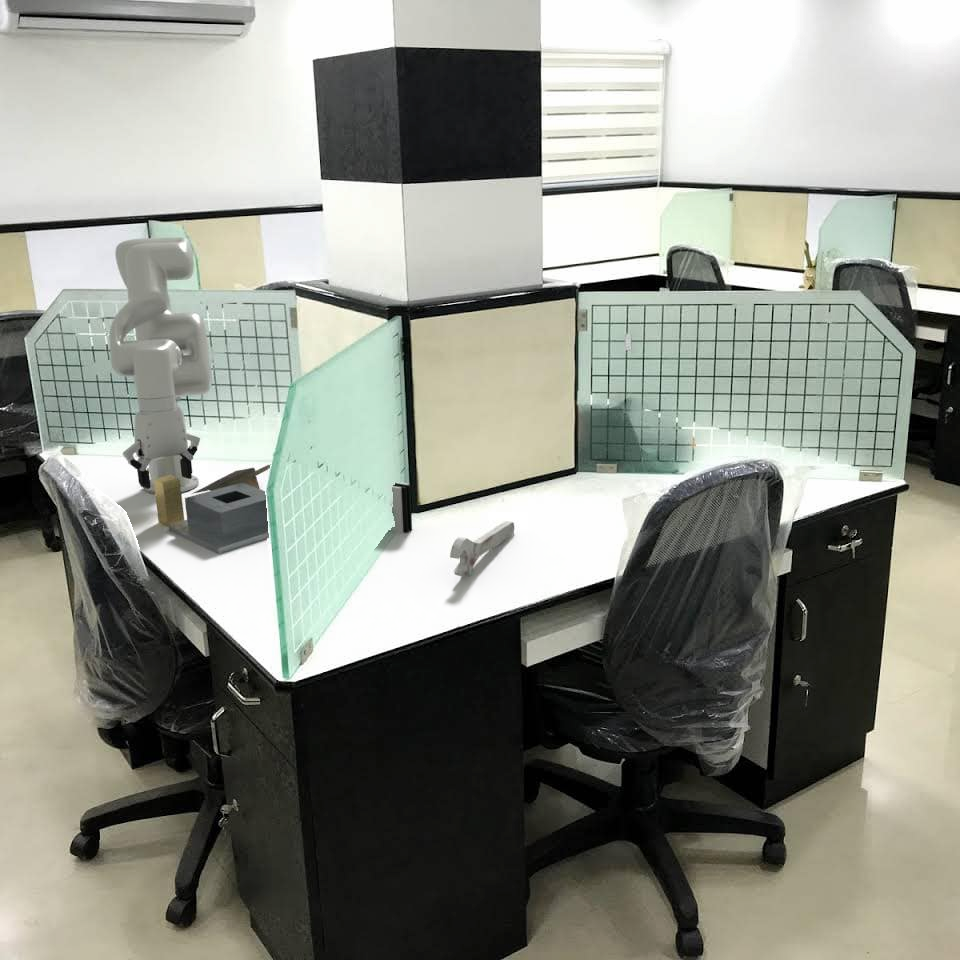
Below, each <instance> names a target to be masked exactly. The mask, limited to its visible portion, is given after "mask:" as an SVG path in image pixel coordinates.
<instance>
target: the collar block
mask: <svg viewBox="0 0 960 960" xmlns="http://www.w3.org/2000/svg"><path fill="white" fill-rule="evenodd" d="M184 503H185V504H184V505H185V512H186V519H184V521H180V522H177V523H173V524H170V525H168V527H167V528H168V529H167V530H168V531H169V532H170V533H173V534H176V535H178V536H180V537H182V538H184V539H186V540H188V541H191V542H193V543H195V544H197V545H199V546H201V547H203V548H206V549H208V550H209V551H212V552H214V553H216V554H218V555H220V554H223V553H226V552H229V551H233V550H235V549H239V548H241V547H245V546H249V545H251V544H255V543H257V542H260V541H265V540H267V539H269V533H268V521H267V508H266V495H265V490H263V489H261V488H260V489H258V488H255V487H252V486H250V485H247V484H244V483H238V484H234V485H231V486H227V487H223V488H220V489H216V490H212V491H210V490H208V491H204V492H200V493H197V494H195V495H191V496H187V497H184Z"/></svg>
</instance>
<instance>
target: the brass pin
mask: <svg viewBox="0 0 960 960" xmlns="http://www.w3.org/2000/svg"><path fill="white" fill-rule="evenodd" d="M153 481H154V489H155V493H154V496H155V502H156V503H155V504H156V511H157V513H156V514H157V520H158V524H160V525H163V526H165V527H166V528H168V525H170V524H173V523H177V522H180V521H184V520H185V513H184V504H183V498H182V497H183V495H182V492H181V486H180V479H179V478H177V477H174V476H172V475H168V476H164V477H160V478H156V479H153Z"/></svg>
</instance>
